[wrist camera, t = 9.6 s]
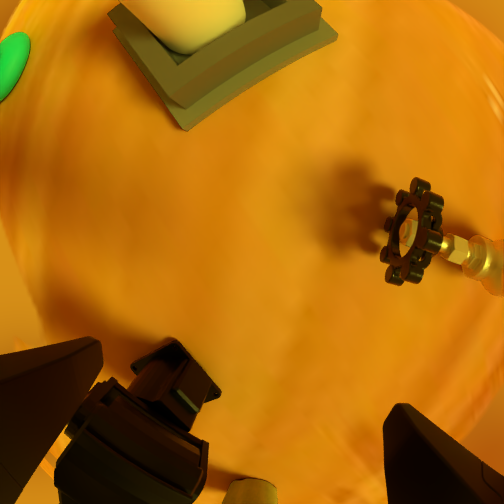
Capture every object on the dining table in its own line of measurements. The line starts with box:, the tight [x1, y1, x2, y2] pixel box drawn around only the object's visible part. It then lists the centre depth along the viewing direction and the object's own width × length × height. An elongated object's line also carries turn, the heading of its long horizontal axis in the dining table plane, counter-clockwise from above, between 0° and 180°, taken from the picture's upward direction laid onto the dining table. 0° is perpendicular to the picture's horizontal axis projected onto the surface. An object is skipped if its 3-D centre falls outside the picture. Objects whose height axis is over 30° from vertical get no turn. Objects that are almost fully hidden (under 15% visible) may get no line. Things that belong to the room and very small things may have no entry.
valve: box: [380, 177, 504, 297], centre depth 14 cm, size 7×7×12 cm
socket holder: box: [107, 0, 338, 131], centre depth 14 cm, size 13×13×4 cm
